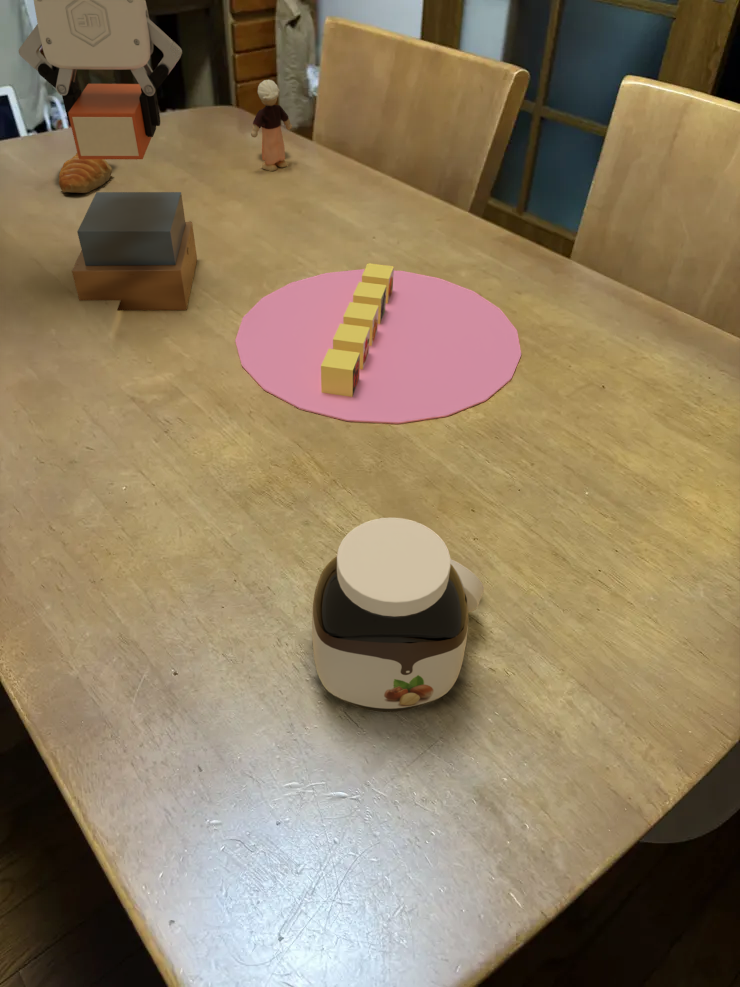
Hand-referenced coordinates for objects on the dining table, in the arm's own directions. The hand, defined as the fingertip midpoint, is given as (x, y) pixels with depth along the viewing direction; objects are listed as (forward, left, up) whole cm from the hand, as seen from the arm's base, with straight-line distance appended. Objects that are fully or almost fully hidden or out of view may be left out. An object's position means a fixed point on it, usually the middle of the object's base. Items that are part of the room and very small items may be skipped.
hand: (116, 131), depth 80 cm
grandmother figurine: (+15, +39, -18) cm, 45 cm away
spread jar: (+26, -55, -18) cm, 63 cm away
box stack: (0, 0, -18) cm, 18 cm away
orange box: (0, 0, -1) cm, 1 cm away
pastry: (-13, +32, -18) cm, 39 cm away
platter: (+28, -13, -18) cm, 35 cm away
